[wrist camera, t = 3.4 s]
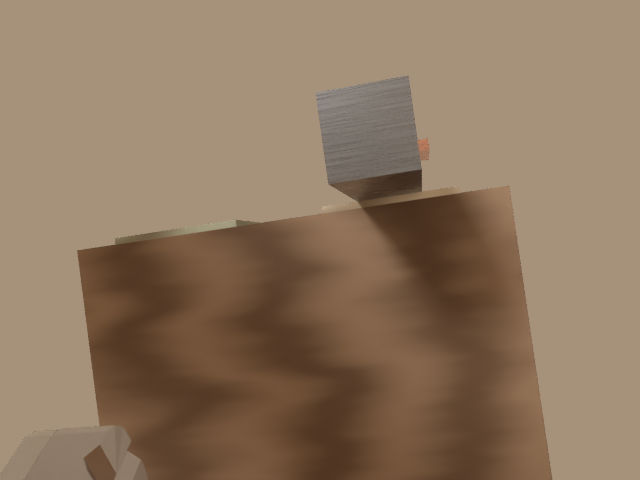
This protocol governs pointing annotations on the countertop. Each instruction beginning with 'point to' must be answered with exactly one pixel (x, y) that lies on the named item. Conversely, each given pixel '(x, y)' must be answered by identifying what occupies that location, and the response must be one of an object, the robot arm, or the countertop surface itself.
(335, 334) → the panel block
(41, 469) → the robot arm
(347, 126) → the paddle lever
